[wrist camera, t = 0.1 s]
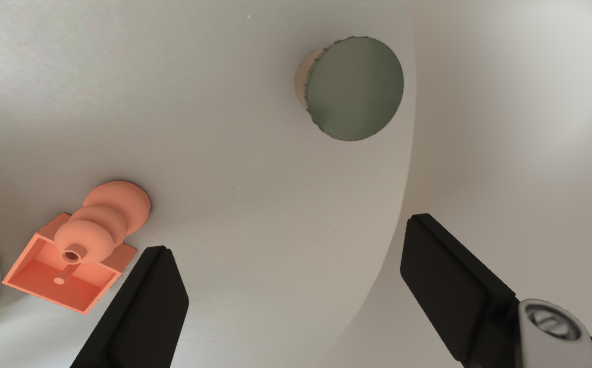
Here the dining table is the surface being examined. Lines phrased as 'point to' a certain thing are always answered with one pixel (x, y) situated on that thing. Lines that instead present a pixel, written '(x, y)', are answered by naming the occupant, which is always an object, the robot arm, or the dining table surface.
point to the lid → (354, 88)
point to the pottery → (82, 248)
